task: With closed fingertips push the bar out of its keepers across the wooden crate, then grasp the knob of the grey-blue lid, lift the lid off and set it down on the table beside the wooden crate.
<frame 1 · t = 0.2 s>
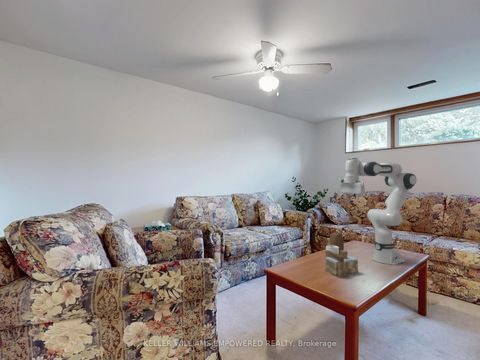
hand: (351, 199, 170), 48 cm above the table, fingers open, 8 cm apart
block: (336, 258, 186), on the table
cup: (332, 262, 176), on the table
bar: (334, 255, 158), point 11 cm above the table, slide at 0.0 cm
lid: (341, 259, 159), point 8 cm above the table, touching wooden crate
wooden crate: (341, 271, 159), on the table
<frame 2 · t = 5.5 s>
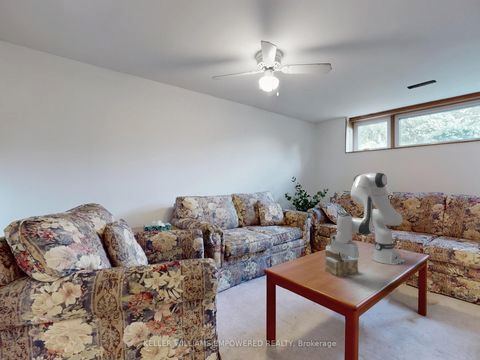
hand: (344, 260, 150), 11 cm above the table, fingers closed
bar: (334, 255, 158), point 11 cm above the table, slide at 0.0 cm, touching gripper
everything else where it was.
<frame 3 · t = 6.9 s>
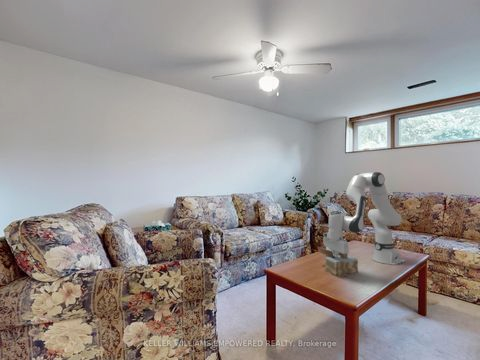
hand: (335, 256, 158), 11 cm above the table, fingers closed
bar: (326, 252, 166), point 11 cm above the table, slide at 8.0 cm, touching gripper
everything else where it was.
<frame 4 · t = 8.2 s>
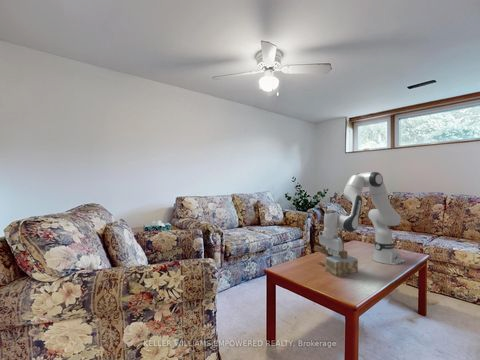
hand: (330, 254, 162), 11 cm above the table, fingers closed
bar: (322, 250, 171), point 11 cm above the table, slide at 12.8 cm, touching gripper
everything else where it was.
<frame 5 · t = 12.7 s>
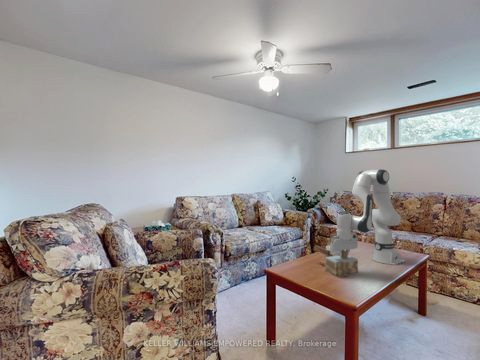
hand: (343, 255, 160), 11 cm above the table, fingers closed on lid, 3 cm apart
bar: (321, 250, 171), point 11 cm above the table, slide at 13.0 cm
lid: (341, 259, 159), point 8 cm above the table, touching wooden crate, gripper
everything else where it was.
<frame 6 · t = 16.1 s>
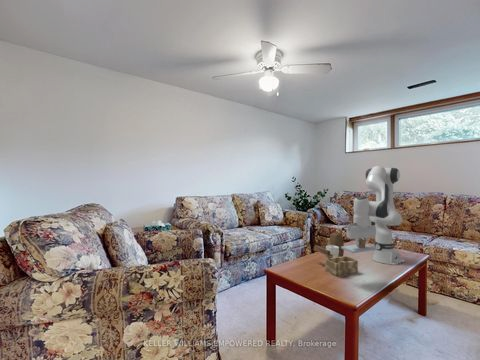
hand: (361, 244, 146), 22 cm above the table, fingers closed on lid, 3 cm apart
lid: (358, 249, 145), point 19 cm above the table, touching gripper
everything else where it was.
when the fingers open (4 cm above the table, at t = 19.5 s): lid drops 2 cm, on the table.
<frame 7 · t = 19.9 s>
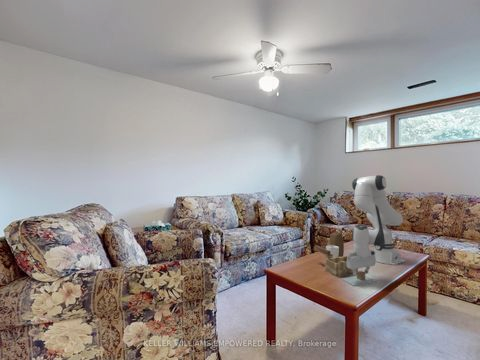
hand: (360, 274, 146), 4 cm above the table, fingers open, 7 cm apart
lid: (358, 281, 146), on the table
everything else where it was.
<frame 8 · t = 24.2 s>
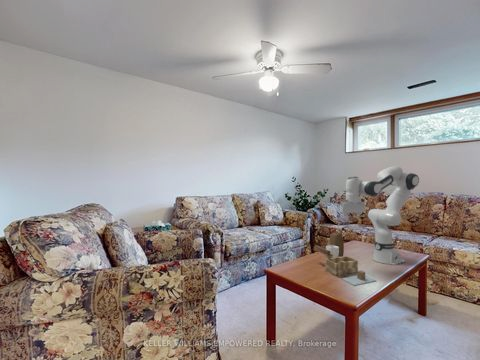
hand: (352, 218, 168), 34 cm above the table, fingers open, 8 cm apart
nothing on the table moved.
at the end: bar slide at 13.0 cm; lid inside the target area (0.5 cm from its centre), on the table; lid tilted 0° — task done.
